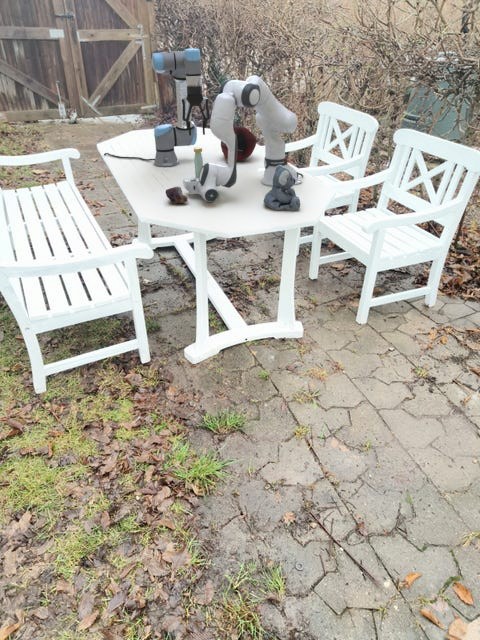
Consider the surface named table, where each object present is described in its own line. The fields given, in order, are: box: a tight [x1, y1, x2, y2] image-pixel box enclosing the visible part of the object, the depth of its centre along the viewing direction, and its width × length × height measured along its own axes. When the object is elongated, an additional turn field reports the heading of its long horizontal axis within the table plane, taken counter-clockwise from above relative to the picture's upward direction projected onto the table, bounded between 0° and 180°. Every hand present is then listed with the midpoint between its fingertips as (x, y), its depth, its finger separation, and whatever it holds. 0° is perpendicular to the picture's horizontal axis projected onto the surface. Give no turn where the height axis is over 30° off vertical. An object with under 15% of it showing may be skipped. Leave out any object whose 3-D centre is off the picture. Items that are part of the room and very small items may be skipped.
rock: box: [165, 186, 188, 204], centre depth 232 cm, size 12×9×10 cm
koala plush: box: [263, 165, 301, 211], centre depth 223 cm, size 17×18×20 cm
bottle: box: [193, 152, 204, 178], centre depth 244 cm, size 5×5×22 cm
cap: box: [193, 146, 203, 153], centre depth 238 cm, size 4×4×2 cm
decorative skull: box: [220, 125, 257, 165], centre depth 297 cm, size 21×24×25 cm
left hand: (197, 134), depth 234 cm, fingers open, 6 cm apart
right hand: (199, 178), depth 248 cm, fingers closed on bottle, 5 cm apart
